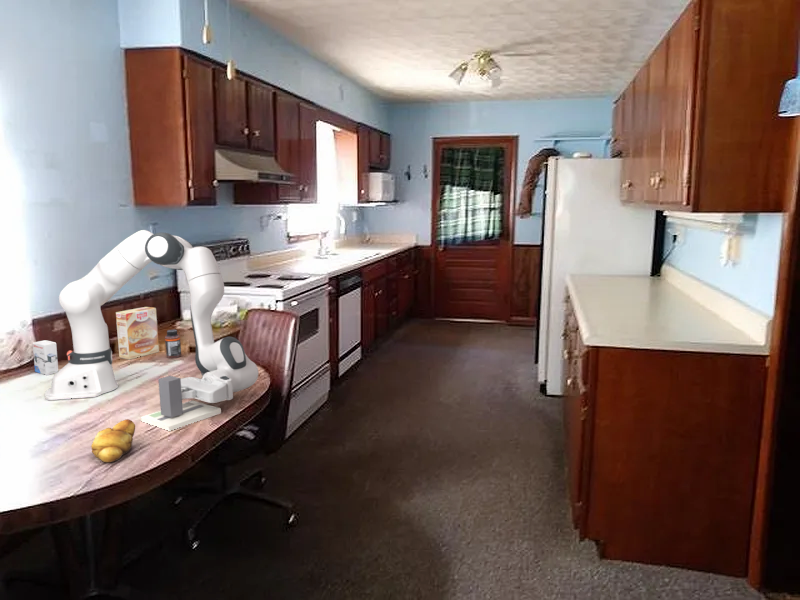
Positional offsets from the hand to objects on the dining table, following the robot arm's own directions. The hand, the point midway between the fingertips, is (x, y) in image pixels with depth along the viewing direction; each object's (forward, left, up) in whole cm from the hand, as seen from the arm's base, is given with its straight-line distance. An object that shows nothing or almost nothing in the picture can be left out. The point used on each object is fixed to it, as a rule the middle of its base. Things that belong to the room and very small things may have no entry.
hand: (176, 396), depth 182 cm
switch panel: (+1, 0, -7) cm, 7 cm away
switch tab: (-2, -1, -5) cm, 5 cm away
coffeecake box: (-9, +88, -7) cm, 88 cm away
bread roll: (-18, -21, -7) cm, 28 cm away
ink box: (-42, +75, -7) cm, 86 cm away
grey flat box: (+13, +42, -8) cm, 45 cm away
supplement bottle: (+4, +77, -7) cm, 78 cm away
